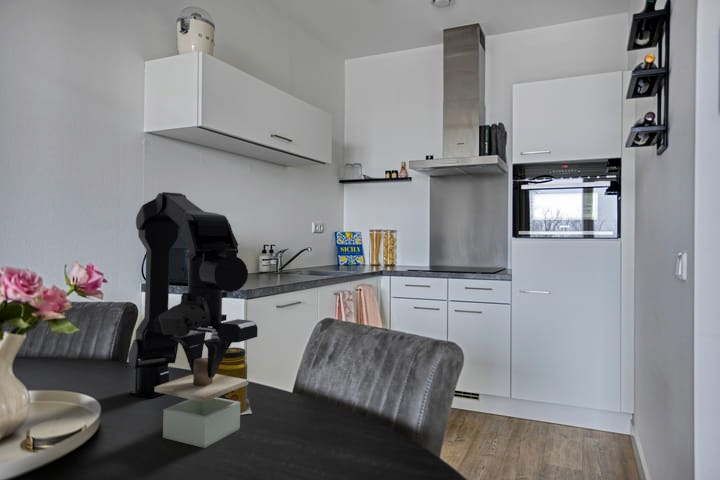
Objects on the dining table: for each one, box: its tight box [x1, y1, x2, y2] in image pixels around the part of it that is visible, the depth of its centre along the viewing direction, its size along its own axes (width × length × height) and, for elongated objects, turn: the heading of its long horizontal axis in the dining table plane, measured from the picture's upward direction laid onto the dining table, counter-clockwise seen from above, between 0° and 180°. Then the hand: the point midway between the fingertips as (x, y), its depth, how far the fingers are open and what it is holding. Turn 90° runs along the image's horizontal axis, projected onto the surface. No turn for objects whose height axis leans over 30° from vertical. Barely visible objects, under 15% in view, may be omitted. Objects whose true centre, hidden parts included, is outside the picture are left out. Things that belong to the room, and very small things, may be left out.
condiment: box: [216, 346, 253, 416], centre depth 98 cm, size 7×8×12 cm
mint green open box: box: [162, 397, 241, 449], centre depth 85 cm, size 9×9×5 cm
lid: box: [154, 357, 249, 402], centre depth 85 cm, size 11×11×5 cm
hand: (203, 376), depth 85 cm, fingers closed on lid, 3 cm apart
